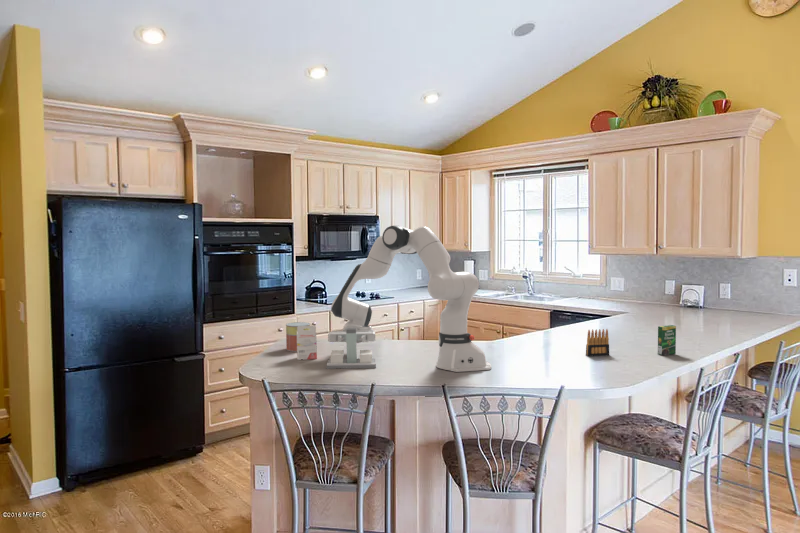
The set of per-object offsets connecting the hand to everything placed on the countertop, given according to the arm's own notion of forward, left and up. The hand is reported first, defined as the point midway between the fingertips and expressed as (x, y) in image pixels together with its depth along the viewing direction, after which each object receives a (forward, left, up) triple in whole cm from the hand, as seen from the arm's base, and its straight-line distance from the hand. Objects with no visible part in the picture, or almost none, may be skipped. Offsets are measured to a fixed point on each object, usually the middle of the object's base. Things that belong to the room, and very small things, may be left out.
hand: (351, 339), depth 238 cm
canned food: (+26, -34, -11) cm, 44 cm away
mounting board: (0, 0, -11) cm, 11 cm away
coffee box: (-142, -11, -11) cm, 143 cm away
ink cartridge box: (+20, -14, -11) cm, 27 cm away
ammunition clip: (-110, -11, -11) cm, 111 cm away
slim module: (0, -1, -9) cm, 10 cm away
